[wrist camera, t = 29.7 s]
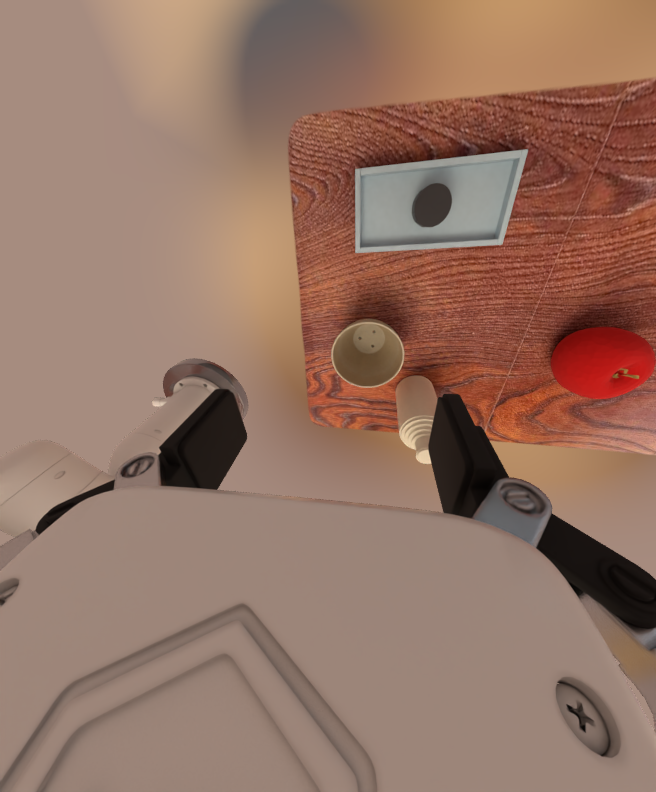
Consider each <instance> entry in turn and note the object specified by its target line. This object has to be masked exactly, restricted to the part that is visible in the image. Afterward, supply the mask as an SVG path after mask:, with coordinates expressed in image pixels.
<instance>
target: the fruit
mask: <svg viewBox="0 0 656 792" xmlns="http://www.w3.org/2000/svg"><path fill="white" fill-rule="evenodd" d="M655 363H656V360H655V354H654V351H653V349H652V347H651V346H650V345H649V343H648V342H647V341H646V340H645V339H644V338H642V337H640V336H639V335H637V334H635V333H633V332H630V331H627V330H624V329H620V328H615V327H595V328H587V329H583V330H579V331H576V332H574V333H572V334H570V335H568V336H567V337H565V338H564V339H563V340H561V342H560V343H559V344H558V345H557V346H556V348H555V350H554V352H553V355H552V358H551V368H552V371H553V375H554V377H555V379H556V380H557V382H558V383H559V384H560V385H561V386H563V387H564V388H566V389H567V390H569V391H571V392H573V393H575V394H578V395H580V396H584V397H588V398H592V399H605V398H612V397H616V396H619V395H622V394H625V393H627V392H629V391H631V390H633V389H635V388H637V387H638V386H640V385H641V384H642V383H644V382H645V381H646V380H647V379H648V378H649V377H650V376H651V374H652V373H653V371H654V367H655Z"/></svg>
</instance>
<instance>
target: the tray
mask: <svg viewBox="0 0 656 792" xmlns="http://www.w3.org/2000/svg"><path fill="white" fill-rule="evenodd" d="M527 153H528V149H524V150H515V151H507V152H498V153H489V154H481V155H472V156H463V157H454V158H446V159H437V160H428V161H420V162H411V163H402V164H394V165H385V166H376V167H368V168H361V169H360V168H359V169H355V253H366V252H384V251H401V250H419V249H436V248H453V247H471V246H488V245H502V244H503V240H504V236H505V233H506V229H507V225H508V222H509V218H510V214H511V211H512V207H513V203H514V200H515V196H516V193H517V189H518V185H519V182H520V178H521V174H522V171H523V167H524V163H525V160H526V156H527ZM434 183H441V184H444V185H445V186H447V187H448V189H449V190H450V192H451V195H452V206H451V209H450V212H449V214H448V215H447V217H446V218H445V219H444V221H443V222H441V223H440V224H439V225H437V226H434V227H421V226H419V225H418V224H417V223H416V222H415V221H414V219H413V216H412V205H413V201H414V199H415V198H416V196H417V195H418V193H419V192H420V191H421V190H423V189H424V188H426V187H427V186H429V185H430V184H434Z"/></svg>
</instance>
